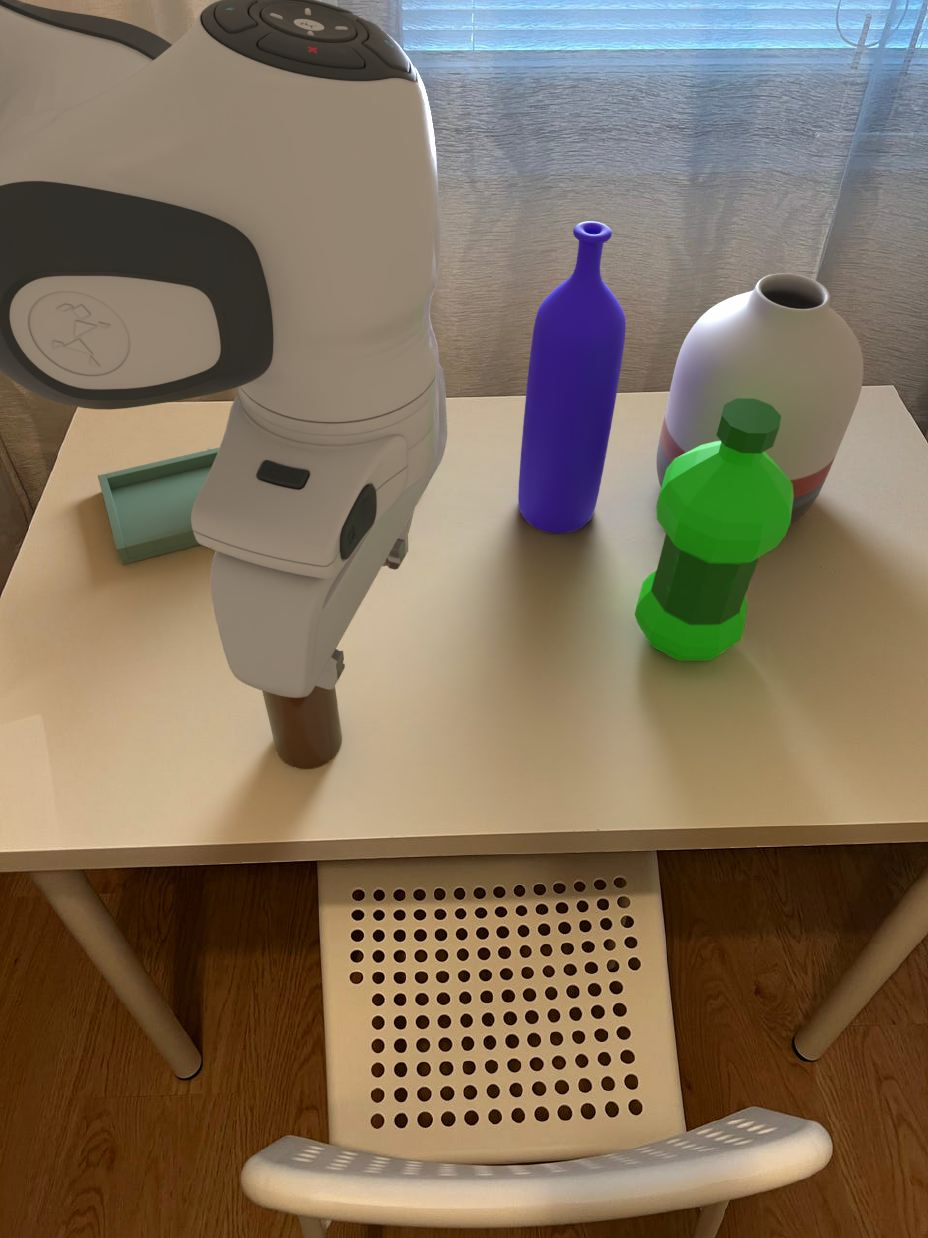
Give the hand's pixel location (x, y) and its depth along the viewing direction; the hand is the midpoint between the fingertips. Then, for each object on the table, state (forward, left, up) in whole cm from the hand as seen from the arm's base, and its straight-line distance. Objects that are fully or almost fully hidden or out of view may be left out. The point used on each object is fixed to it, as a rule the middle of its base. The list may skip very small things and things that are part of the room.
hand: (359, 615), depth 53 cm
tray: (+2, +42, -26) cm, 49 cm away
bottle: (+29, +28, -26) cm, 48 cm away
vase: (+47, +23, -26) cm, 59 cm away
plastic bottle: (+32, +8, -26) cm, 42 cm away
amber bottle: (-3, +10, -26) cm, 28 cm away
